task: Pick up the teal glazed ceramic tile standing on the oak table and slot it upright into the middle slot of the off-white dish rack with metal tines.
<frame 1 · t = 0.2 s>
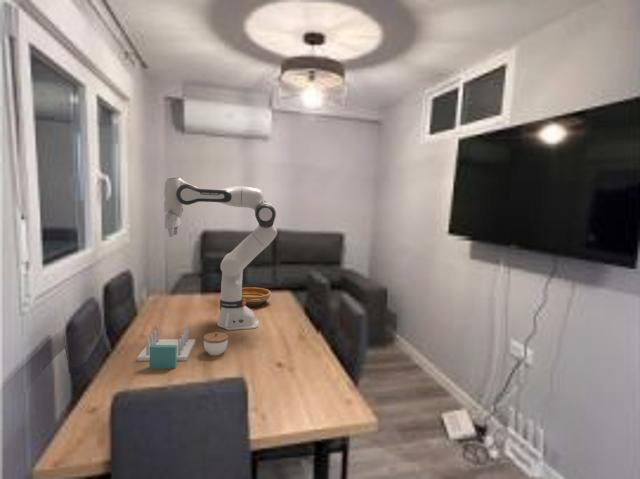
hand: (173, 235, 202), 48 cm above the table, fingers open, 8 cm apart
dish rack: (168, 351, 173), on the table
brown woven oval bowl: (251, 303, 252), on the table
lidded jar: (215, 353, 174), on the table
teal tile: (163, 367, 158), on the table
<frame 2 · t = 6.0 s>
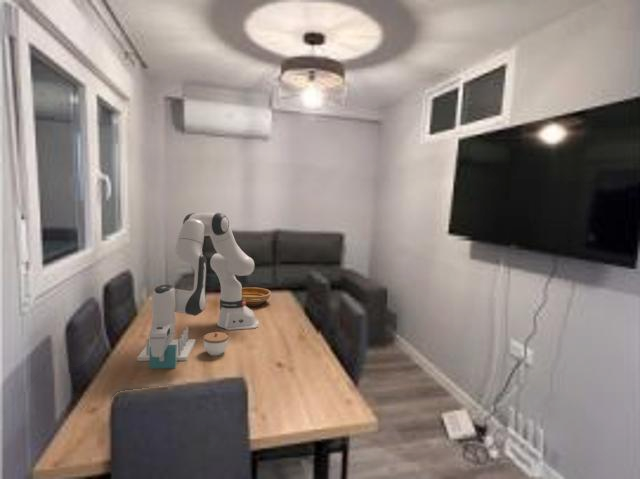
hand: (163, 358, 157), 4 cm above the table, fingers closed on teal tile, 2 cm apart
teal tile: (163, 367, 158), on the table, touching gripper
everything else where it was.
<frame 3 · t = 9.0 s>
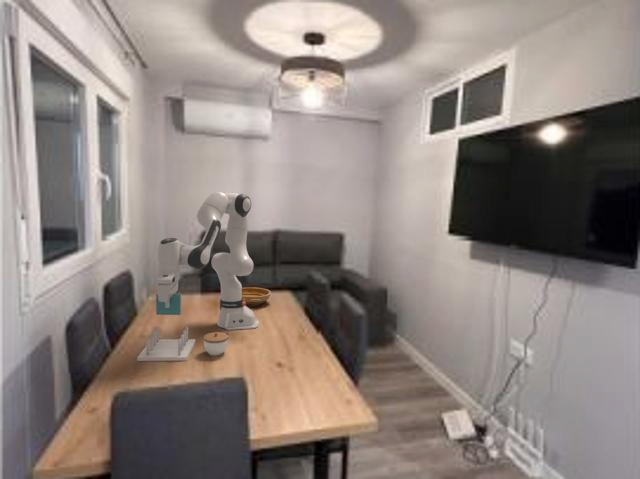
hand: (168, 306, 171), 21 cm above the table, fingers closed on teal tile, 2 cm apart
teal tile: (168, 314, 171), point 17 cm above the table, touching gripper
everything else where it was.
when the fingers open (6 cm above the table, at t = 12.5 s): teal tile stays where it is, resting on dish rack.
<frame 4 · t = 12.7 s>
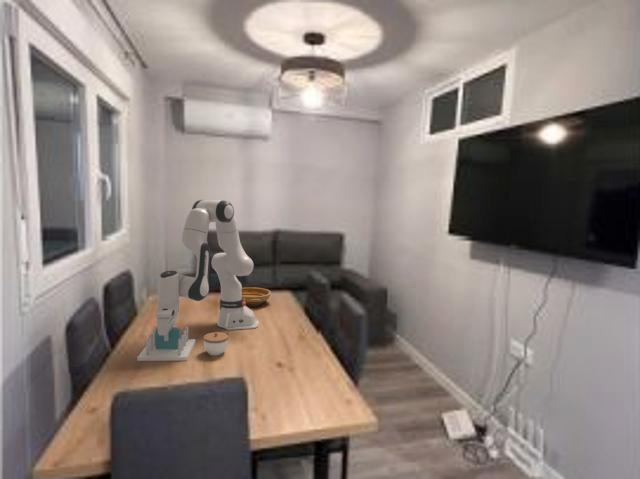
hand: (168, 337, 172), 6 cm above the table, fingers open, 4 cm apart
teal tile: (168, 347, 173), point 1 cm above the table, touching dish rack
everything else where it was.
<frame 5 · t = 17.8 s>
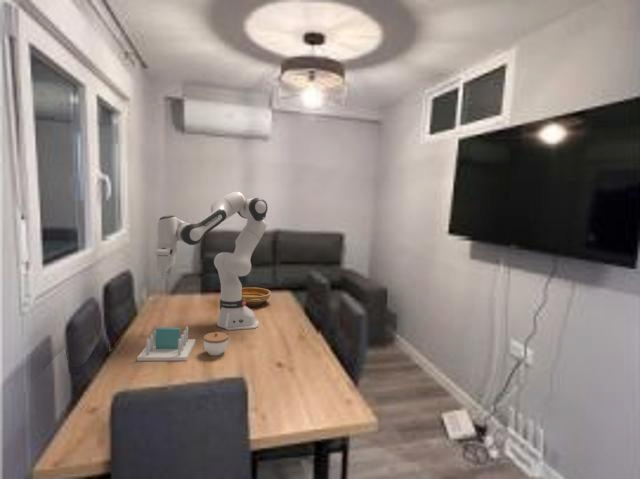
hand: (166, 276, 189), 29 cm above the table, fingers open, 8 cm apart
nothing on the table moved.
at the end: teal tile 0.0 cm off-centre on the dish rack, point 1.5 cm above the dish rack's base; teal tile tilted 0°; the gripper is holding nothing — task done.
